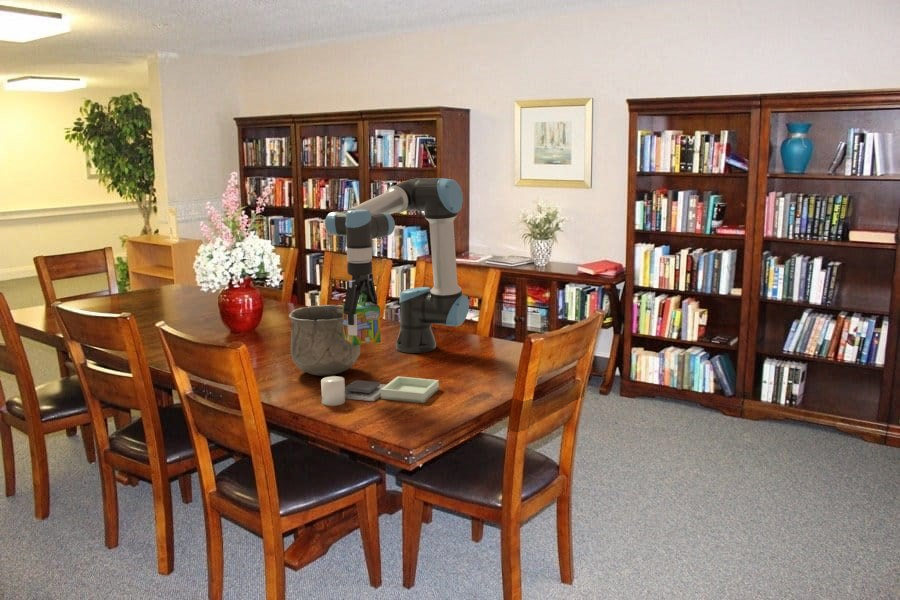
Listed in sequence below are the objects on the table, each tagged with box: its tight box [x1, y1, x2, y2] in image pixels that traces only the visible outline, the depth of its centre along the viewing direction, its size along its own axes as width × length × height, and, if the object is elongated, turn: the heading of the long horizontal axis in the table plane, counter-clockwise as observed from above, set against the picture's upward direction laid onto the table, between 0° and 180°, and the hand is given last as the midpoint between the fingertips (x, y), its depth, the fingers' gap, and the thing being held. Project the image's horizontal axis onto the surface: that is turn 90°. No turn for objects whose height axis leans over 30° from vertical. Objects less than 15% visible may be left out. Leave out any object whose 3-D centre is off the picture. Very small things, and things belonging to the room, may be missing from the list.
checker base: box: [345, 380, 387, 402], centre depth 242 cm, size 13×13×2 cm
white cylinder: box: [320, 375, 346, 407], centre depth 233 cm, size 7×7×7 cm
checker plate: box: [346, 379, 381, 393], centre depth 242 cm, size 8×8×1 cm
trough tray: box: [380, 375, 440, 404], centre depth 241 cm, size 14×14×3 cm
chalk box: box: [342, 294, 382, 346], centre depth 237 cm, size 9×9×15 cm
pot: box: [288, 304, 361, 377], centre depth 261 cm, size 25×24×21 cm
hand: (361, 330), depth 238 cm, fingers closed on chalk box, 12 cm apart
